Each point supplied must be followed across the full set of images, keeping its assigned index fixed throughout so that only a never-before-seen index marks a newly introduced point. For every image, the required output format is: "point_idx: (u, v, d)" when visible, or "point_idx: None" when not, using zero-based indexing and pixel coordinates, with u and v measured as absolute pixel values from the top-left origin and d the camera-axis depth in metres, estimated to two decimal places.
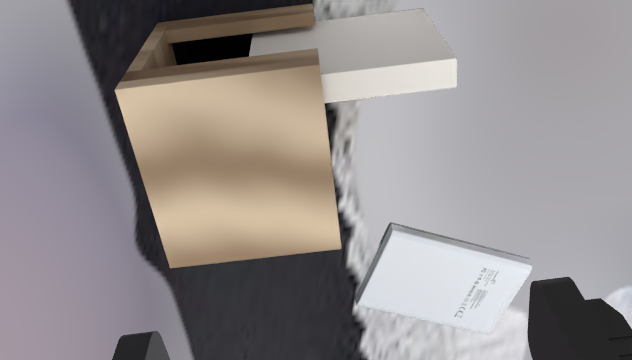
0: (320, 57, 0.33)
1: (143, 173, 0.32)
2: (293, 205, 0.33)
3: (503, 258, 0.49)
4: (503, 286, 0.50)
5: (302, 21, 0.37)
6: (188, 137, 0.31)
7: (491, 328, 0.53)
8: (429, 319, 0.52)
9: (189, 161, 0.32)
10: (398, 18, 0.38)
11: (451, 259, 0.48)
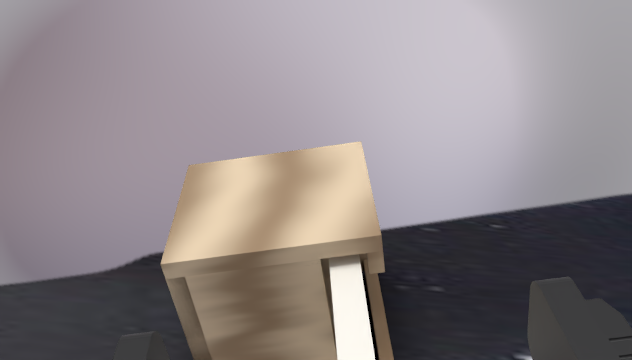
0: None
1: (287, 152, 0.39)
2: (229, 228, 0.32)
3: None
4: None
5: (383, 351, 0.35)
6: (316, 171, 0.36)
7: None
8: None
9: (293, 172, 0.36)
10: None
11: None
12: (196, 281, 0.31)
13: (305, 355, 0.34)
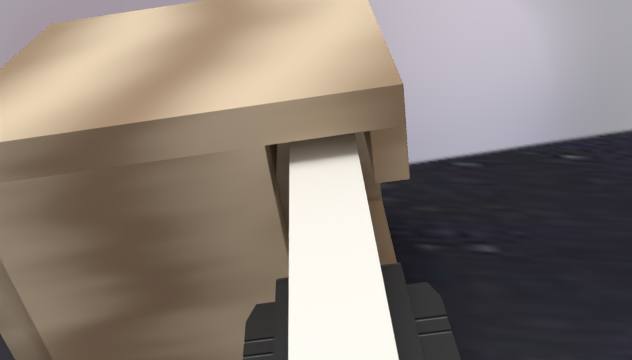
0: None
1: None
2: (76, 93, 0.15)
3: None
4: None
5: None
6: (272, 12, 0.19)
7: None
8: None
9: (230, 17, 0.19)
10: None
11: None
12: None
13: None
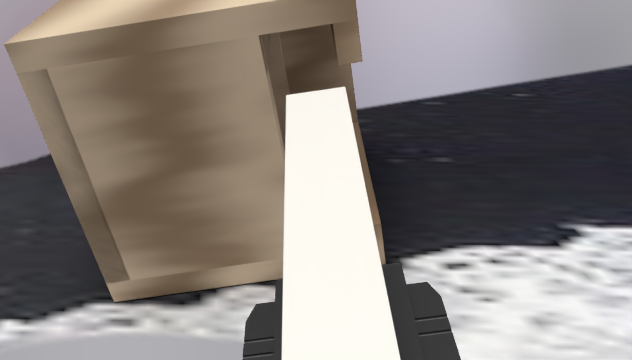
0: None
1: None
2: (123, 8, 0.21)
3: None
4: None
5: None
6: None
7: None
8: None
9: None
10: None
11: None
12: (66, 78, 0.20)
13: (248, 215, 0.23)
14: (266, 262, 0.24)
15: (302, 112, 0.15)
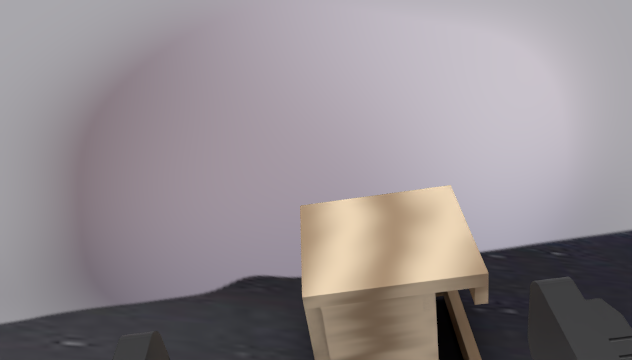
0: None
1: (386, 195, 0.45)
2: (353, 265, 0.38)
3: None
4: None
5: None
6: (416, 213, 0.42)
7: None
8: None
9: (396, 213, 0.42)
10: None
11: None
12: (329, 311, 0.37)
13: None
14: None
15: None
